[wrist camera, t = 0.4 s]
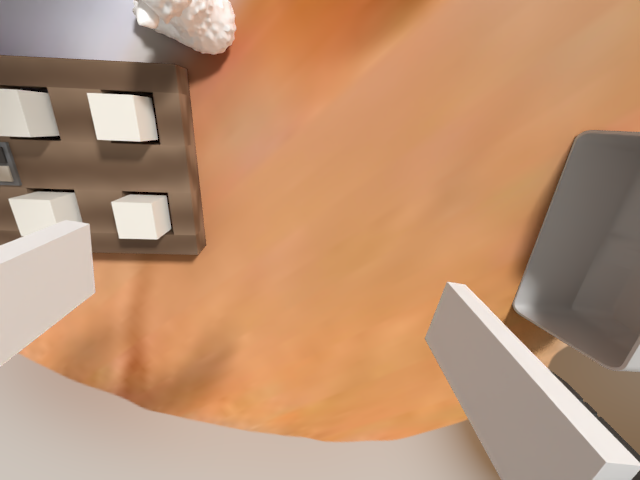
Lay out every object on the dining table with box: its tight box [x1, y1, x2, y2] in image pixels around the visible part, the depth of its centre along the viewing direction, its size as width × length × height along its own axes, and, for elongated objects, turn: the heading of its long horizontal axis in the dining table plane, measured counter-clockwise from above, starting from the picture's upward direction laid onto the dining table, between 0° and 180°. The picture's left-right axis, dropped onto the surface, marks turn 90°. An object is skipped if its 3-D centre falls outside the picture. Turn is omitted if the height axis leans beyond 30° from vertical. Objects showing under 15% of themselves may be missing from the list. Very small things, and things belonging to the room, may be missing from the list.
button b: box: [8, 191, 83, 236], centre depth 32 cm, size 4×4×4 cm
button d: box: [111, 194, 172, 239], centre depth 33 cm, size 4×4×4 cm
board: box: [0, 55, 206, 255], centre depth 33 cm, size 20×22×4 cm
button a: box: [0, 89, 60, 137], centre depth 29 cm, size 4×4×4 cm
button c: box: [87, 93, 158, 142], centre depth 29 cm, size 4×4×4 cm
